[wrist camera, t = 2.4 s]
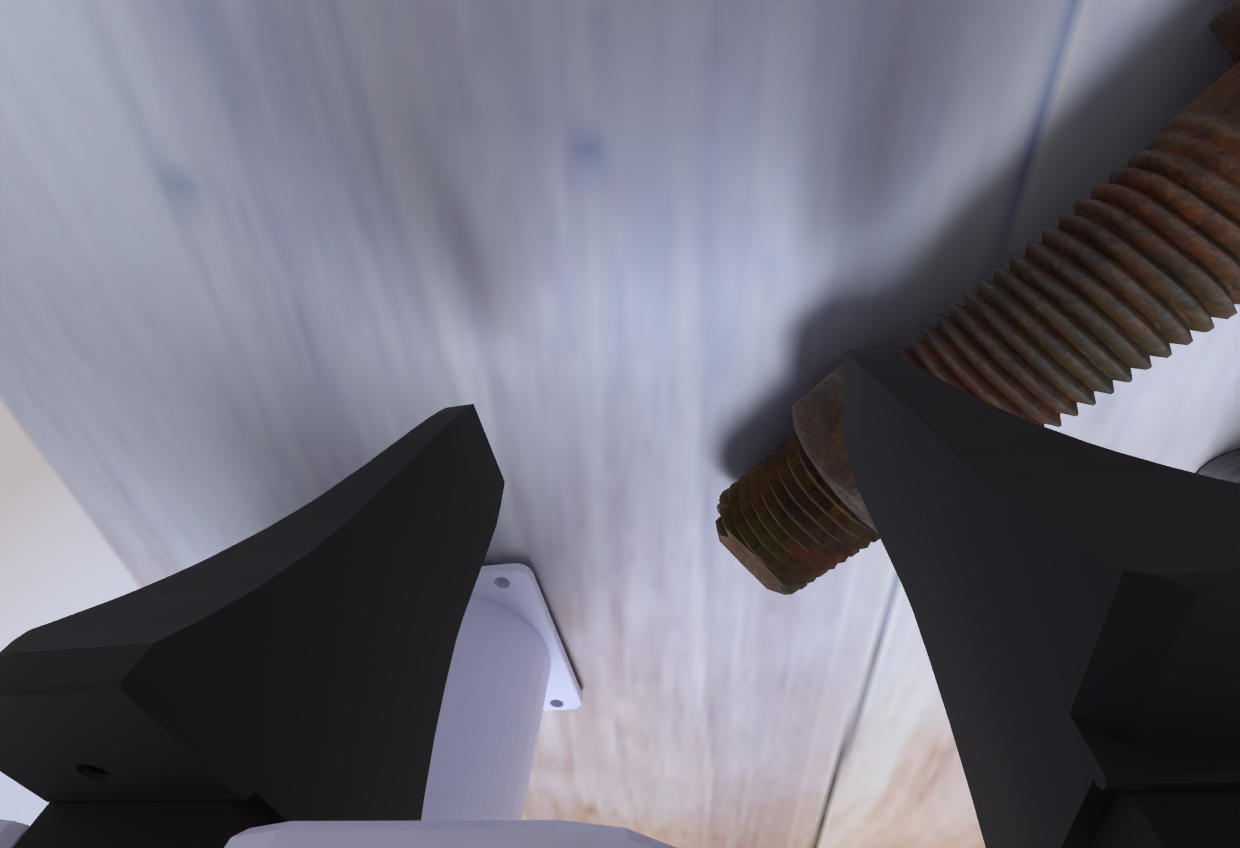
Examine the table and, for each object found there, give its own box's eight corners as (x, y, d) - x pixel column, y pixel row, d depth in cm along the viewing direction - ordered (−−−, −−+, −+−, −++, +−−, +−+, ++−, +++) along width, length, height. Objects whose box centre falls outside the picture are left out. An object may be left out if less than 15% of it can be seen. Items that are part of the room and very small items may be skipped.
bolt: (723, 448, 19) (1263, -24, 11) (833, 572, 18) (1497, 154, 10) (642, 513, 14) (1513, -255, 6) (789, 687, 13) (2002, 51, 5)
